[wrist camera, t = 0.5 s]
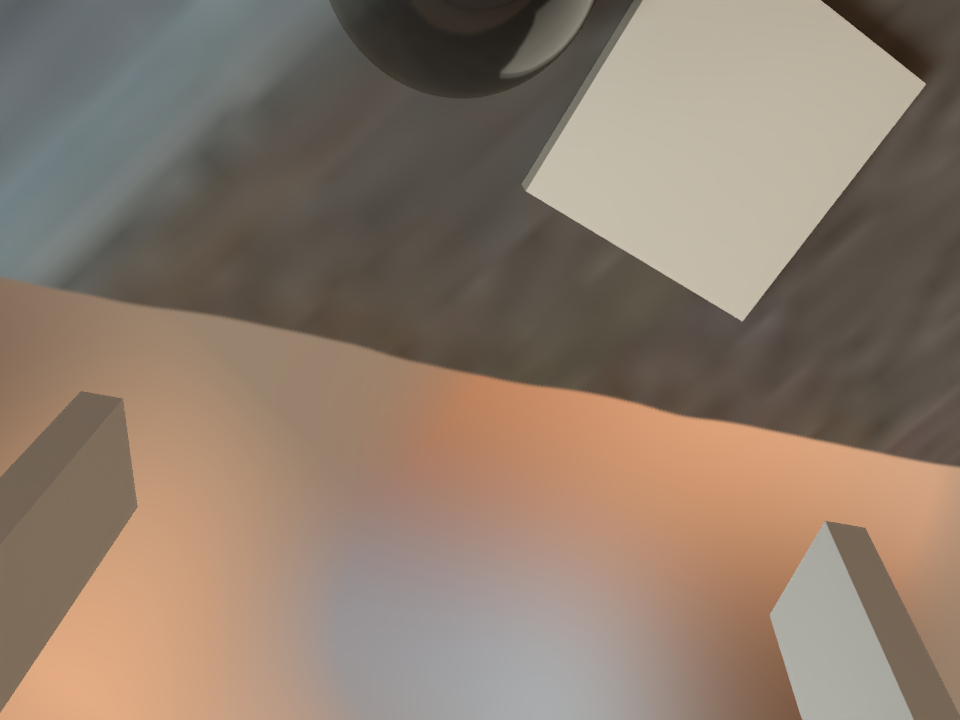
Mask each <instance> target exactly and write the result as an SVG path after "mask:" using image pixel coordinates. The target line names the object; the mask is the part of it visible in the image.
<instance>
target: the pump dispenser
mask: <svg viewBox="0 0 960 720" xmlns="http://www.w3.org/2000/svg"><path fill="white" fill-rule="evenodd" d="M329 1H330V4H331V6H332V8H333V10H334V12H335V14H336V16H337V18H338V20H339V22H340V24H341V25H342V27H343V29H344V30H345V32H346V33H347V35H348V36H349V38H350V39H351V40H352V42H353V43H354V44H355V45H356V47H357V48H358V49H359V50H360V51H361V52H362V53H363V54H364V56H366V57H367V58H368V59H369V60H370V61H371V62H372V63H373V64H374V65H375V66H376V67H378V68H379V69H380V70H381V71H383V72H384V73H385V74H387V75H388V76H390V77H391V78H393V79H395V80H396V81H398V82H400V83H402V84H404V85H406V86H408V87H410V88H412V89H415V90H418V91H420V92H423V93H427V94H431V95H435V96H440V97H446V98H460V99H461V98H477V97H484V96H489V95H493V94H497V93H500V92H503V91H506V90H509V89H511V88H514V87H516V86H518V85H520V84H522V83H524V82H526V81H527V80H529V79H531V78H532V77H534V76H535V75H537V74H538V73H540V72H541V71H543V70H544V69H545V68H546V67H548V66H549V65H550V64H551V63H552V62H553V61H555V60H556V59H557V58H558V57H559V56H560V55H561V54H562V53H563V52H564V51H565V49H566V48H567V47H568V46H569V45H570V44H571V42H572V41H573V40H574V38H575V37H576V36H577V34H578V33H579V31H580V30H581V28H582V27H583V25H584V23H585V21H586V20H587V18H588V16H589V14H590V12H591V10H592V8H593V6H594V4H595V1H596V0H329Z"/></svg>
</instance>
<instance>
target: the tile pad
mask: <svg viewBox="0 0 960 720" xmlns="http://www.w3.org/2000/svg"><path fill="white" fill-rule="evenodd" d="M925 85H926V83H924V82H923V81H922V80H921V79H919V78H918V77H917V76H916V75H914V74H913V73H912V72H911V71H909V70H908V69H907V68H906V67H904V66H903V65H902V64H900V63H899V62H898V61H897V60H895V59H894V58H893V57H892V56H890V55H889V54H888V53H887V52H885V51H884V50H883V49H882V48H880V47H879V46H878V45H877V44H875V43H874V42H873V41H872V40H870V39H869V38H868V37H867V36H865V35H864V34H863V33H862V32H860V31H859V30H858V29H856V28H855V27H854V26H853V25H851V24H850V23H849V22H848V21H846V20H845V19H844V18H843V17H841V16H840V15H839V14H838V13H836V12H835V11H834V10H833V9H831V8H830V7H829V6H828V5H826V4H825V3H824V2H823V1H821V0H634V1H633V2H632V4H631V6H630V7H629V9H628V10H627V12H626V14H625V15H624V17H623V19H622V20H621V22H620V24H619V25H618V27H617V28H616V30H615V32H614V33H613V35H612V37H611V38H610V40H609V42H608V43H607V45H606V47H605V48H604V50H603V51H602V53H601V55H600V56H599V58H598V60H597V61H596V63H595V65H594V66H593V68H592V70H591V71H590V73H589V74H588V76H587V78H586V79H585V81H584V83H583V84H582V86H581V88H580V89H579V91H578V93H577V94H576V96H575V97H574V99H573V101H572V102H571V104H570V106H569V107H568V109H567V111H566V112H565V114H564V116H563V117H562V119H561V120H560V122H559V124H558V125H557V127H556V129H555V130H554V132H553V134H552V135H551V137H550V138H549V140H548V142H547V143H546V145H545V147H544V148H543V150H542V152H541V153H540V155H539V157H538V158H537V160H536V161H535V163H534V165H533V166H532V168H531V170H530V171H529V173H528V175H527V176H526V178H525V180H524V181H523V183H522V186H523V187H524V189H525V191H527V192H528V193H530V194H532V195H533V196H535V197H537V198H538V199H540V200H542V201H543V202H545V203H547V204H548V205H550V206H552V207H553V208H555V209H557V210H558V211H560V212H561V213H563V214H565V215H566V216H568V217H570V218H571V219H573V220H575V221H576V222H578V223H580V224H581V225H583V226H585V227H586V228H588V229H590V230H591V231H593V232H595V233H596V234H598V235H600V236H601V237H603V238H605V239H606V240H608V241H610V242H611V243H613V244H615V245H616V246H618V247H620V248H621V249H623V250H625V251H626V252H628V253H630V254H631V255H633V256H635V257H636V258H638V259H640V260H641V261H643V262H645V263H646V264H648V265H650V266H651V267H653V268H655V269H656V270H658V271H660V272H661V273H663V274H665V275H666V276H668V277H669V278H671V279H673V280H674V281H676V282H678V283H679V284H681V285H683V286H684V287H686V288H688V289H689V290H691V291H693V292H694V293H696V294H698V295H699V296H701V297H703V298H704V299H706V300H708V301H709V302H711V303H713V304H714V305H716V306H718V307H719V308H721V309H723V310H724V311H726V312H728V313H729V314H731V315H733V316H734V317H736V318H738V319H739V320H741V321H743V320H744V319H745V317H746V316H747V315H748V314H749V312H750V311H751V310H752V308H753V307H754V306H755V304H756V303H757V302H758V301H759V299H760V298H761V297H762V295H763V294H764V293H765V292H766V290H767V289H768V288H769V286H770V285H771V284H772V283H773V281H774V280H775V279H776V277H777V276H778V275H779V273H780V272H781V271H782V270H783V268H784V267H785V266H786V264H787V263H788V262H789V261H790V259H791V258H792V257H793V255H794V254H795V253H796V252H797V250H798V249H799V248H800V246H801V245H802V244H803V242H804V241H805V240H806V239H807V237H808V236H809V235H810V233H811V232H812V231H813V230H814V228H815V227H816V226H817V224H818V223H819V222H820V221H821V219H822V218H823V217H824V215H825V214H826V213H827V211H828V210H829V209H830V208H831V206H832V205H833V204H834V202H835V201H836V200H837V199H838V197H839V196H840V195H841V193H842V192H843V191H844V190H845V188H846V187H847V186H848V184H849V183H850V182H851V181H852V179H853V178H854V177H855V175H856V174H857V173H858V171H859V170H860V169H861V168H862V166H863V165H864V164H865V162H866V161H867V160H868V159H869V157H870V156H871V155H872V153H873V152H874V151H875V150H876V148H877V147H878V146H879V144H880V143H881V142H882V140H883V139H884V138H885V137H886V135H887V134H888V133H889V131H890V130H891V129H892V128H893V126H894V125H895V124H896V122H897V121H898V120H899V119H900V117H901V116H902V115H903V113H904V112H905V111H906V109H907V108H908V107H909V106H910V104H911V103H912V102H913V100H914V99H915V98H916V97H917V95H918V94H919V93H920V91H921V90H922V89H923V88H924V86H925Z"/></svg>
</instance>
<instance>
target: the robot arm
mask: <svg viewBox="0 0 960 720" xmlns="http://www.w3.org/2000/svg"><path fill="white" fill-rule="evenodd" d="M136 508H137V500H136V493H135V486H134V478H133V470H132V463H131V456H130V449H129V441H128V434H127V426H126V418H125V412H124V404H123V399H121V398H116V397H111V396H105V395H99V394H93V393H88V392H82V391H81V392H80V393H79V394H78V395H77V396H76V397H75V398H74V399H73V400H72V401H71V402H70V403H69V405H68V406H67V407H66V408H65V409H64V410H63V411H62V412H61V413H60V414H59V415H58V416H57V417H56V419H55V420H54V421H53V422H52V423H51V424H50V425H49V426H48V427H47V428H46V429H45V430H44V431H43V432H42V433H41V434H40V436H39V437H38V438H37V439H36V440H35V441H34V442H33V443H32V444H31V445H30V446H29V447H28V448H27V449H26V451H25V452H24V453H23V454H22V455H21V456H20V457H19V458H18V459H17V460H16V461H15V462H14V463H13V464H12V465H11V467H10V468H9V469H8V470H7V471H6V472H5V473H4V474H3V475H2V476H1V477H0V712H1V711H2V709H3V707H4V706H5V705H6V703H7V702H8V700H9V699H10V697H11V696H12V694H13V693H14V691H15V690H16V688H17V687H18V685H19V684H20V682H21V681H22V679H23V678H24V676H25V675H26V673H27V672H28V670H29V669H30V667H31V666H32V664H33V663H34V661H35V660H36V658H37V657H38V655H39V654H40V652H41V651H42V649H43V648H44V646H45V645H46V643H47V642H48V640H49V639H50V637H51V636H52V634H53V633H54V631H55V630H56V628H57V627H58V625H59V624H60V622H61V621H62V619H63V618H64V616H65V615H66V613H67V612H68V610H69V609H70V607H71V606H72V604H73V603H74V601H75V600H76V598H77V597H78V595H79V594H80V592H81V591H82V589H83V588H84V586H85V585H86V583H87V582H88V580H89V579H90V577H91V576H92V574H93V573H94V571H95V570H96V568H97V567H98V565H99V564H100V562H101V561H102V559H103V558H104V556H105V555H106V553H107V552H108V550H109V549H110V547H111V546H112V544H113V543H114V541H115V540H116V538H117V537H118V535H119V534H120V532H121V531H122V529H123V528H124V526H125V525H126V523H127V522H128V520H129V519H130V517H131V516H132V514H133V513H134V511H135V510H136ZM770 618H771V621H772V624H773V627H774V631H775V634H776V637H777V640H778V644H779V647H780V650H781V653H782V656H783V659H784V663H785V666H786V669H787V673H788V676H789V679H790V682H791V685H792V689H793V692H794V695H795V698H796V702H797V705H798V708H799V711H800V714H801V718H802V720H960V715H959V713H958V711H957V709H956V707H955V705H954V703H953V702H952V699H951V697H950V695H949V693H948V691H947V689H946V688H945V685H944V683H943V681H942V679H941V677H940V675H939V673H938V672H937V669H936V667H935V666H934V664H933V662H932V660H931V658H930V656H929V654H928V652H927V650H926V648H925V646H924V644H923V642H922V640H921V638H920V636H919V634H918V632H917V630H916V628H915V626H914V624H913V622H912V620H911V618H910V616H909V614H908V612H907V610H906V608H905V606H904V604H903V602H902V600H901V598H900V596H899V594H898V592H897V590H896V588H895V586H894V584H893V582H892V580H891V578H890V576H889V574H888V572H887V570H886V568H885V566H884V564H883V562H882V560H881V558H880V556H879V554H878V553H877V550H876V548H875V546H874V544H873V542H872V541H871V538H870V537H869V535H868V533H867V531H866V529H865V528H863V527H857V526H851V525H845V524H840V523H834V522H828V521H825V522H824V524H823V525H822V527H821V529H820V531H819V532H818V534H817V536H816V538H815V539H814V541H813V542H812V544H811V546H810V548H809V549H808V551H807V553H806V554H805V556H804V558H803V560H802V561H801V563H800V565H799V566H798V568H797V570H796V571H795V573H794V575H793V576H792V578H791V580H790V581H789V583H788V585H787V587H786V588H785V590H784V592H783V593H782V595H781V597H780V598H779V600H778V602H777V604H776V605H775V607H774V609H773V610H772V612H771V614H770Z"/></svg>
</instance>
